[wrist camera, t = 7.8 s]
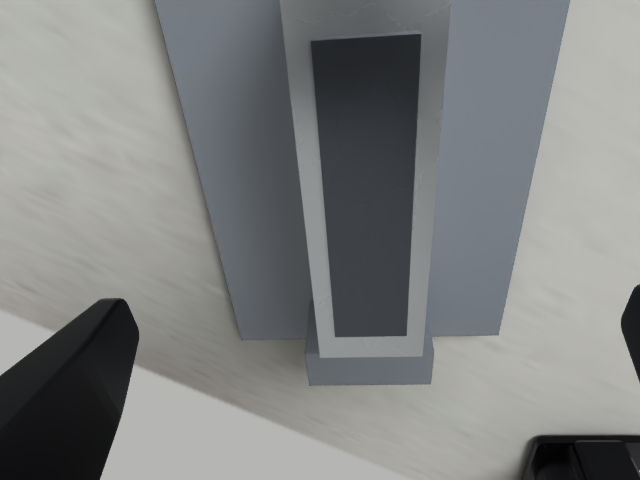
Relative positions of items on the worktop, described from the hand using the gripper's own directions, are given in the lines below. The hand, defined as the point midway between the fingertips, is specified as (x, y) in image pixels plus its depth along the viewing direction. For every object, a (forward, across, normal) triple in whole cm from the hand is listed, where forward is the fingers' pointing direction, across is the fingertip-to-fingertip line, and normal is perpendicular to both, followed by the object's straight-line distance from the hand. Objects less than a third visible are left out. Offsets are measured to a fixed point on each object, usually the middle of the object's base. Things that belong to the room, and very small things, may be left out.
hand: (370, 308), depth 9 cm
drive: (+9, 0, 0) cm, 9 cm away
